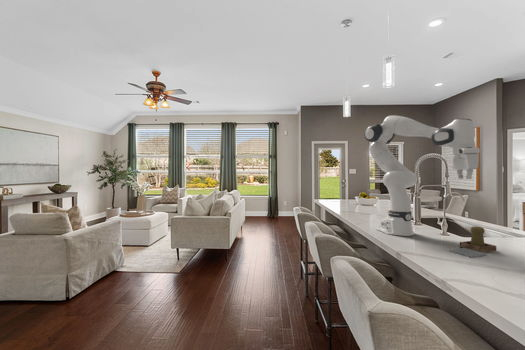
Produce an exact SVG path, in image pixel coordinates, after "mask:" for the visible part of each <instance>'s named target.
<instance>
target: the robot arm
mask: <svg viewBox="0 0 525 350" xmlns="http://www.w3.org/2000/svg"><path fill="white" fill-rule="evenodd" d="M396 135H397V136H401V137H402V136H403V137H421V138H422V137H423V138H424V137H425V138H428V139H430V140H431V142H432V143H433V145H435V146H438V147H443V148H444V147H447V148H452V155H453V158H452V170H454V171H456V174H457V177H458V178H457V179H460V180H462V179H464V174H463V173H464V172H463V171H464V170H466V171H465V172H466V175H465V179H466V180H472V178H473V173H474V170H478V167H479V161H480V158H479V156H480V155H479V154H480V152H481V149H480V148H479V147H477V146H476V142H475V137H476V127H475V123H474V120H472V119H470V118H456V119H453V120H452V121H451V122H450V123H448V124H447V125H445V126H443V127H440V128H438V127H434V126H430V125H427V124H424V123H422V122H419V121H417V120H415V119H412V118H409V117H407V116H402V115H388V116H386V117H385V118H384V119H383V122H382V123H381V124H380V123H375V124H373V125H370V126H368V127H367V128H366V129H365V131H364V135H363V136H364V139H365V140H366V141H368V142H371V144H370V145H369V146H368V151H369V154H370V155H371V158H372V159H373V160H374V162H375V163H376V164H377V166H378V167H379V169H380V170H381V171H382V172H384V173H385V174H384V175H383V177H382V183H383V185H384V186H385V187H386V189H387V192H388V194H389V199H390V203H389V204H390V208H389V209H390V210H388V211H387V213H388V214H387V216H386V217H384V218H383V219H381V220H380V223H379V226H377V227H375V230H377V231H380V232H382V233H384V234H386V235H392V236H400V237H401V236H406V237H408V236H410V237H411V236H414V235H415V233H414V230H413V224H412V210H411V209H412V207H411V206H412V204H411V203H412V201H411V197H410V196H409V194H408V192H407V189H408V188H412V187H414V186H415V185H416V184H417V182H418V177H417V174H416V173H414V172H413V171H411V170H410V169H409V168H407V167H406V166H405V165H404V164H403V163H401V162H400V161H399V160H398V158H397V157H395V155H394V154H393V153H392V152H391V150H390V149H389V148H388V146H387V145H389V144H391V141H392V140H394V138H395V137H396Z"/></svg>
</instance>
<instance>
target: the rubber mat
mask: <svg viewBox="0 0 525 350" xmlns="http://www.w3.org/2000/svg"><path fill="white" fill-rule="evenodd" d="M448 252H452V253H453V254H454V253H456V254H458V255H461V256H465V257H467V256H468V258H477V256H479V257H485V255H486V256H488V254H487V253H486V252H485V253H482V252H478V251H474V250H471V249H467V248H461V247H459V248H454V249H451V248H450V249H449V251H448Z"/></svg>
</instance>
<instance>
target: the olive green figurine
mask: <svg viewBox="0 0 525 350" xmlns="http://www.w3.org/2000/svg"><path fill="white" fill-rule="evenodd" d="M470 232H471V237H470V241H471V243H470V244H471V245H475V246H479V247H484V246H485V238H484V237H485V236H484V234H485V229H484V228H483V227H481V226H477V225H475V226H471V227H470Z"/></svg>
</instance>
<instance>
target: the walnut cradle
mask: <svg viewBox="0 0 525 350" xmlns="http://www.w3.org/2000/svg"><path fill="white" fill-rule="evenodd" d="M470 243H471V240H468V241H467V240H465V241H459V248H461V247H462V248H467V249H471V250H474V251H478V252H482V253H485V254H486V253H490V252H491V253H492V252H496V251H497V245H495V244H490V243H485V242H484V243H485V246H484V247H479V246H475V245H471V244H470Z"/></svg>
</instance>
